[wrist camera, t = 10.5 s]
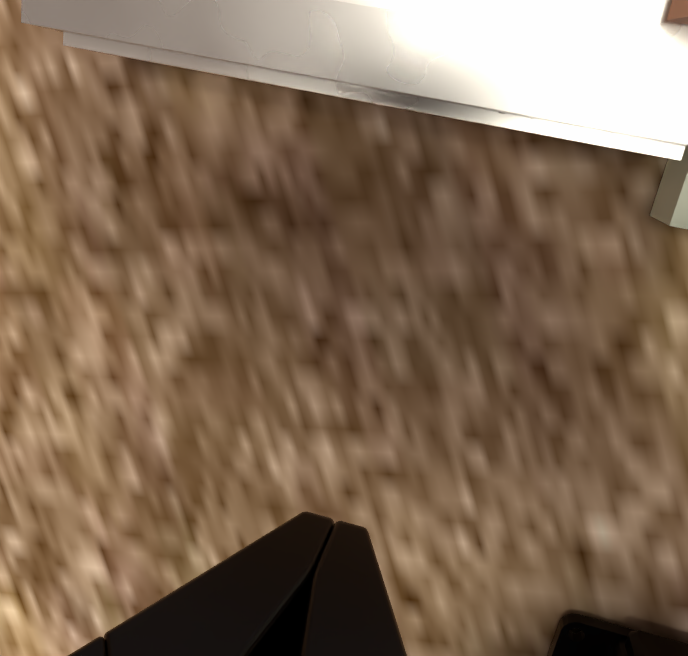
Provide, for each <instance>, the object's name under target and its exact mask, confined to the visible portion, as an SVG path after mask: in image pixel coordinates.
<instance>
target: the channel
mask: <svg viewBox="0 0 688 656" xmlns="http://www.w3.org/2000/svg"><path fill="white" fill-rule="evenodd" d="M671 3H672V0H22V8H21V23H26V24H30V25H34V26H39V27H43V28H47V29H52V30H56V31H60V32H64V36H63V45H65V46H70V47H75V48H80V49H85V50H90V51H95V52H100V53H105V54H110V55H115V56H120V57H125V58H130V59H136V60H141V61H146V62H152V63H157V64H162V65H168V66H173V67H178V68H184V69H189V70H194V71H200V72H205V73H210V74H216V75H221V76H227V77H232V78H237V79H243V80H248V81H253V82H259V83H264V84H269V85H275V86H280V87H285V88H291V89H296V90H301V91H307V92H312V93H317V94H323V95H328V96H333V97H339V98H344V99H349V100H355V101H360V102H366V103H371V104H376V105H382V106H387V107H392V108H398V109H403V110H408V111H414V112H419V113H424V114H430V115H435V116H440V117H446V118H451V119H456V120H462V121H467V122H472V123H478V124H483V125H488V126H494V127H499V128H505V129H510V130H515V131H521V132H526V133H531V134H537V135H542V136H547V137H553V138H558V139H563V140H569V141H574V142H579V143H585V144H590V145H595V146H601V147H606V148H611V149H617V150H622V151H627V152H633V153H638V154H644V155H649V156H655V157H662V158H668V159H674V160H681V158H682V155H683V152H684V149H685V147H688V25H687V24H682V23H677V22H672V21H667V17H668V13H669V10H670V6H671Z"/></svg>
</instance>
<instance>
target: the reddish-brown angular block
mask: <svg viewBox="0 0 688 656" xmlns="http://www.w3.org/2000/svg"><path fill="white" fill-rule="evenodd" d="M667 21H672V22H677V23H682V24H687V25H688V0H672V3H671V6H670V10H669V13H668V17H667Z"/></svg>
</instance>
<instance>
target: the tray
mask: <svg viewBox="0 0 688 656" xmlns="http://www.w3.org/2000/svg"><path fill="white" fill-rule="evenodd" d="M650 216H651V217H653V218H655V219H657V220H659V221H661V222H663V223H665V224H667V225H669V226H673V227H678V228H683V229H688V147H685V149H684V152H683V155H682V158H681V160H674V159H668V161H667V164H666V167H665V170H664V173H663V176H662V179H661V182H660V185H659V188H658V191H657V194H656V197H655V201H654V204H653V207H652V210H651V213H650Z"/></svg>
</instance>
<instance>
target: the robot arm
mask: <svg viewBox="0 0 688 656" xmlns="http://www.w3.org/2000/svg"><path fill="white" fill-rule="evenodd" d="M572 629H580V630H581V631H580V632H578V633H572V632H571V631H570V630H572ZM68 656H407V654H406V651H405V648H404V644H403V641H402V638H401V635H400V632H399V629H398V625H397V622H396V619H395V616H394V613H393V609H392V606H391V603H390V600H389V597H388V594H387V590H386V587H385V584H384V581H383V578H382V574H381V571H380V568H379V565H378V562H377V558H376V555H375V552H374V549H373V546H372V543H371V539H370V536H369V533H368V531H367V529H366V528H364V527H361V526H357V525H354V524H350V523H346V522H343V521H338V522H336V523H335V524H334V521H333V520H332V519H331V518H328V517H325V516H321V515H317V514H314V513H310V512H302V513H300V514H299V515H297V516H296V517H294V518H292V519H291V520H289V521H287V522H286V523H284V524H282V525H281V526H279V527H278V528H276V529H274V530H273V531H271V532H269V533H268V534H266V535H265V536H263V537H261V538H260V539H258V540H256V541H255V542H253V543H251V544H250V545H248V546H247V547H245V548H243V549H242V550H240V551H238V552H237V553H235V554H234V555H232V556H230V557H229V558H227V559H225V560H224V561H222V562H221V563H219V564H217V565H216V566H214V567H212V568H211V569H209V570H207V571H206V572H204V573H203V574H201V575H199V576H198V577H196V578H194V579H193V580H191V581H190V582H188V583H186V584H185V585H183V586H181V587H180V588H178V589H176V590H175V591H173V592H172V593H170V594H168V595H167V596H165V597H163V598H162V599H160V600H159V601H157V602H155V603H154V604H152V605H150V606H149V607H147V608H145V609H144V610H142V611H141V612H139V613H137V614H136V615H134V616H132V617H131V618H129V619H128V620H126V621H124V622H123V623H121V624H119V625H118V626H116V627H115V628H113V629H111V630H110V631H108V632H107V633H106V634H105V636H104V638H103V637H98V638H96V639H94V640H93V641H91V642H90V643H88V644H86V645H85V646H83V647H81V648H80V649H78V650H76V651H75V652H73V653H72V654H70V655H68ZM547 656H688V644H685V643H681V642H678V641H674V640H670V639H667V638H663V637H660V636H656V635H653V634H649V633H646V632H642V631H637V630H633V629H629V628H626V627H622V626H619V625H615V624H612V623H608V622H605V621H601V620H598V619H594V618H591V617H587V616H584V615H580V614H568V615H566V616H564V617H562V619H561V620H560V622H559V624H558V627H557V630H556V633H555V636H554V638H553V641H552V644H551V647H550V650H549V652H548V655H547Z"/></svg>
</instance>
